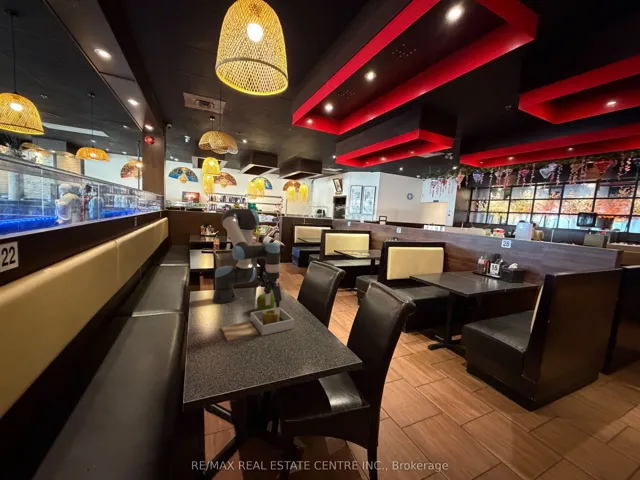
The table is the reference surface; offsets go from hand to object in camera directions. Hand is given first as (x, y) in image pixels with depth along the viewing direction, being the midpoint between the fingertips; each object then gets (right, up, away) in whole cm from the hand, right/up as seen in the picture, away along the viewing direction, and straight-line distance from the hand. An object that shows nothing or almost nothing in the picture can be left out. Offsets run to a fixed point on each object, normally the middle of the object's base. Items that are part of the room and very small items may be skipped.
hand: (272, 308), depth 142 cm
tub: (-1, -9, +1) cm, 9 cm away
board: (-16, -10, -8) cm, 20 cm away
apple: (-8, -7, +21) cm, 24 cm away
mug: (-1, -9, +1) cm, 10 cm away
